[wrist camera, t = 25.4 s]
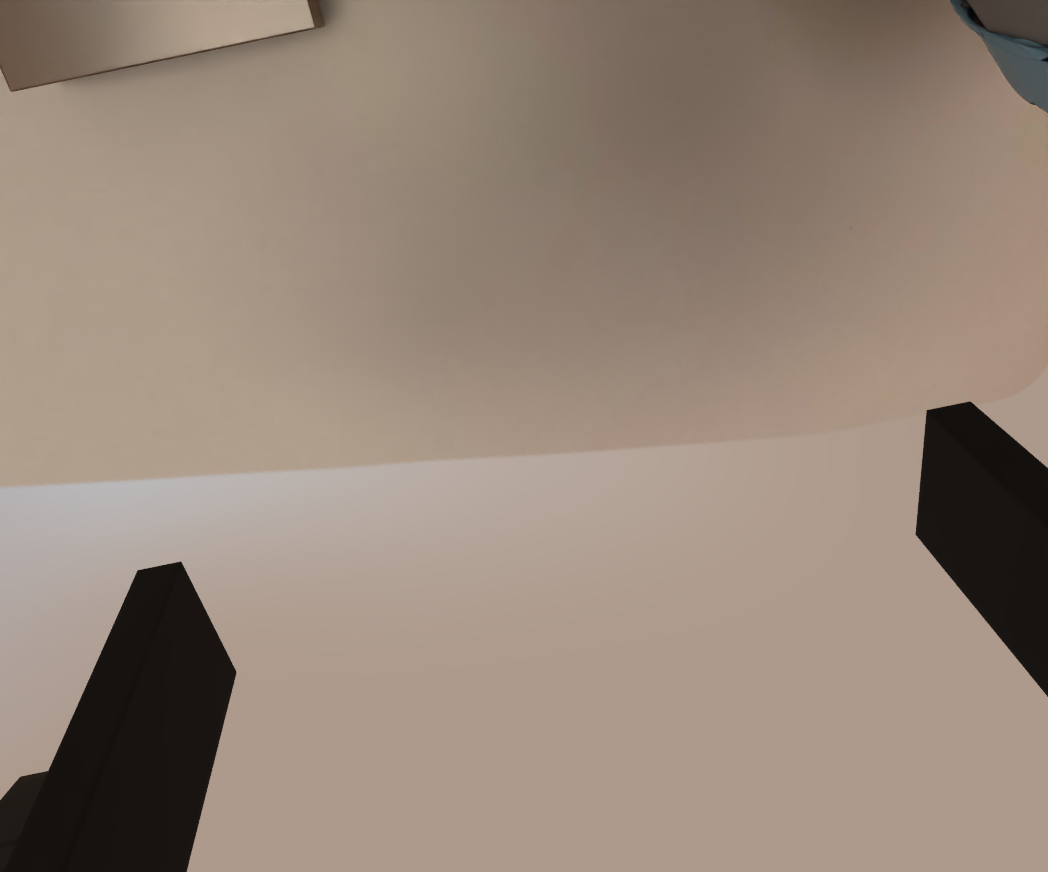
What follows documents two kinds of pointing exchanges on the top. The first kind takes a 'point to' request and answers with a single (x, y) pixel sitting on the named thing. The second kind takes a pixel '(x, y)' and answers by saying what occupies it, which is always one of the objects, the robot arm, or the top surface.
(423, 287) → the top surface
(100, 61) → the wooden display riser
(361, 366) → the top surface
